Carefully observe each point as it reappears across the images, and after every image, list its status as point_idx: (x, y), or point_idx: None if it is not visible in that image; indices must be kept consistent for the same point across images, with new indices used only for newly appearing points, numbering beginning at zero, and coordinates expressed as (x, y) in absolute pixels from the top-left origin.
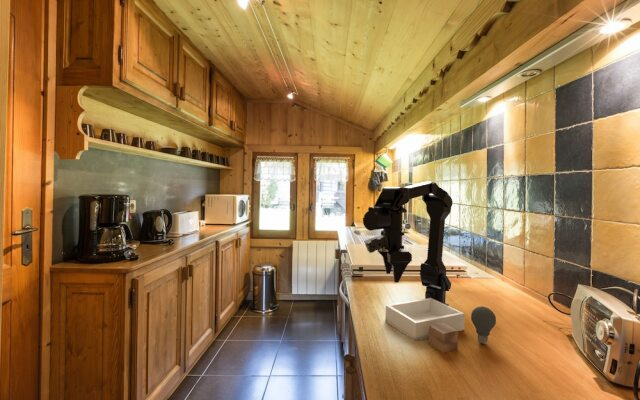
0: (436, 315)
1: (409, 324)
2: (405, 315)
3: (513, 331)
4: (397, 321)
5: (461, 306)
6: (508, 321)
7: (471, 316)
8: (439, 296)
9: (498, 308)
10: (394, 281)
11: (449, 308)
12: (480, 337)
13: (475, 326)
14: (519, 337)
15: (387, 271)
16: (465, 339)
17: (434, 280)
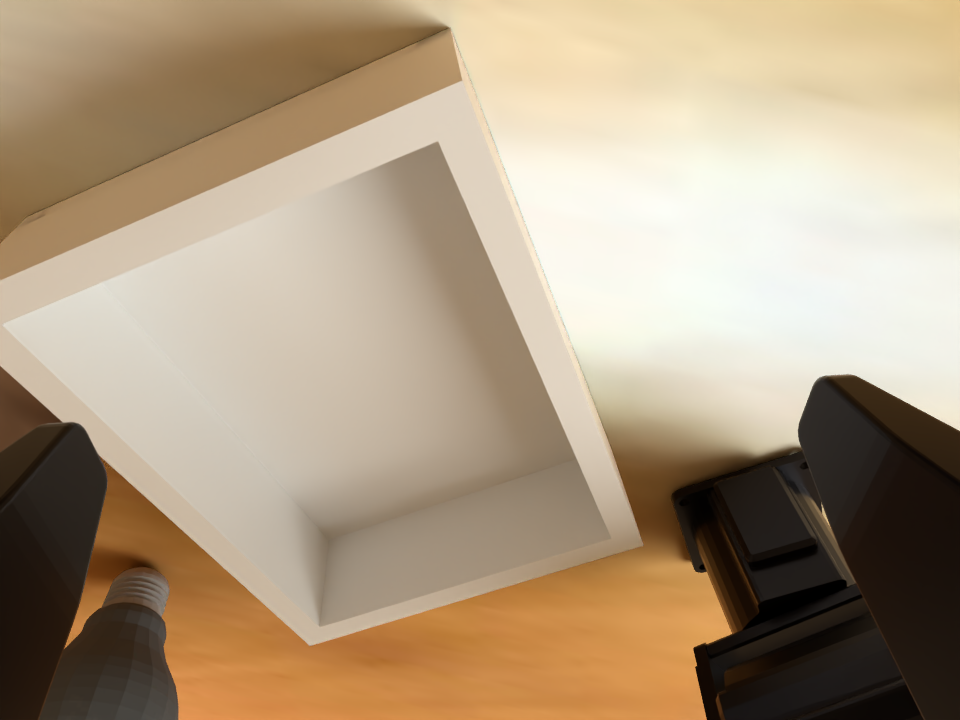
0: (513, 475)
1: (49, 242)
2: (134, 254)
3: (339, 694)
4: (237, 143)
5: (678, 611)
6: (456, 707)
7: (83, 692)
8: (718, 587)
9: (617, 716)
10: (41, 431)
11: (407, 597)
12: (110, 597)
13: (87, 643)
14: (273, 693)
15: (843, 427)
16: None
17: (750, 707)
